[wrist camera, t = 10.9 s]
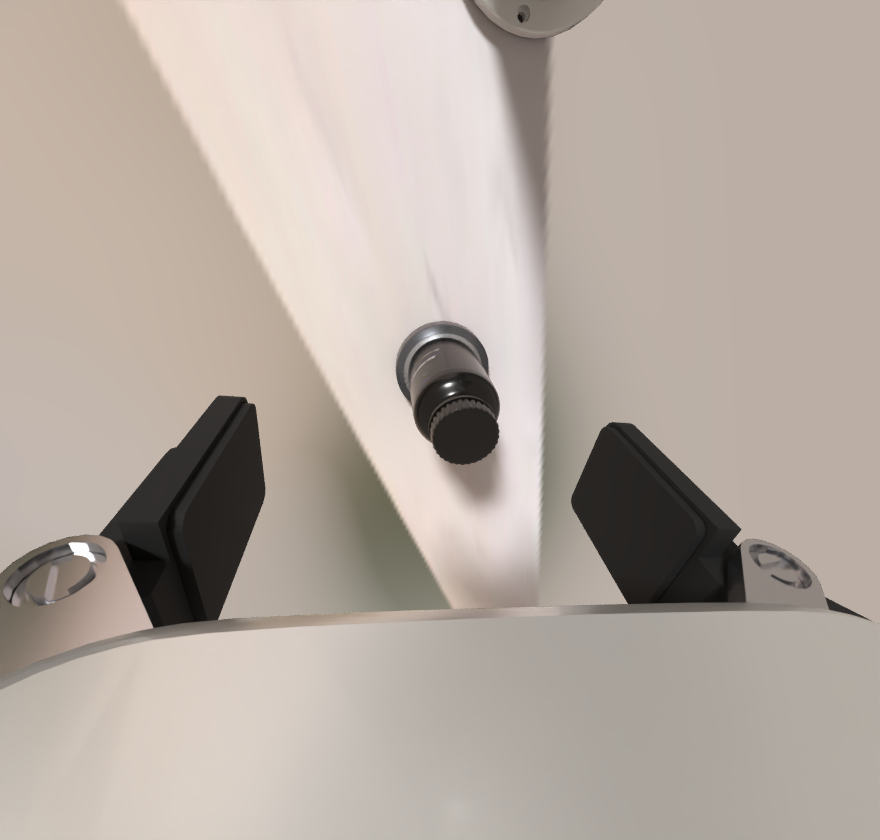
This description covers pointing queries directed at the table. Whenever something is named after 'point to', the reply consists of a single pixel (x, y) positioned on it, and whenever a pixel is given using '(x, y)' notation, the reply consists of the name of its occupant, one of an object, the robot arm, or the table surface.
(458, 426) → the supplement bottle
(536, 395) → the table surface
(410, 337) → the plate
